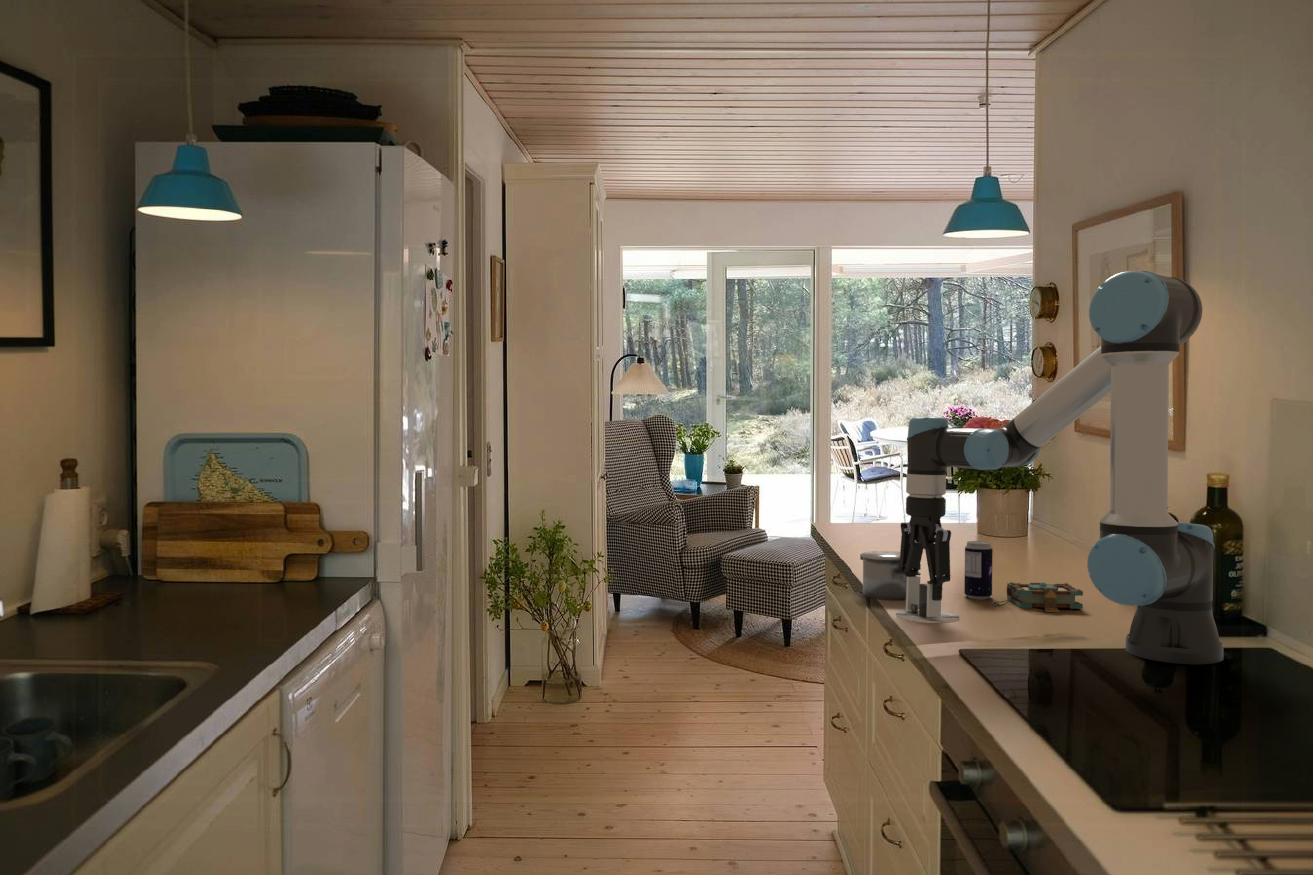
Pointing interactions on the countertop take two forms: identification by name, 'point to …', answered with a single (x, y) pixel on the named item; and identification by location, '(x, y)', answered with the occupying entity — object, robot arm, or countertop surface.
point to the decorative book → (1043, 596)
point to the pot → (883, 576)
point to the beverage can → (978, 570)
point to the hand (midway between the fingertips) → (923, 612)
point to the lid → (924, 611)
